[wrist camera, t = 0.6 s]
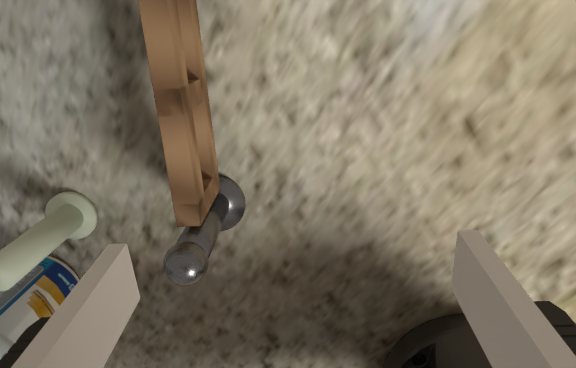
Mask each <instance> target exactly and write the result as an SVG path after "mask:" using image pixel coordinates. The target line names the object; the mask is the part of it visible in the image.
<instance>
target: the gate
mask: <svg viewBox="0 0 576 368" xmlns="http://www.w3.org/2000/svg"><path fill="white" fill-rule="evenodd" d="M138 4H139V10H140V16H141V21H142V27H143V33H144V39H145V44H146V50H147V56H148V62H149V68H150V73H151V79H152V85H153V91H154V97H155V102H156V108H157V114H158V120H159V126H160V131H161V137H162V143H163V149H164V155H165V160H166V166H167V172H168V178H169V183H170V189H171V195H172V201H173V207H174V212H175V218H176V224H177V227H187V226H201V224H202V222H203V220H204V219H205V217H206V215H207V213H208V211H209V209H210V207H211V205H212V203H213V201H214V200H215V198H216V196H217V194H218V192H219V190H220V183H219V175H218V167H217V160H216V152H215V144H214V136H213V129H212V121H211V113H210V105H209V98H208V90H207V82H206V74H205V67H204V59H203V51H202V43H201V36H200V28H199V20H198V12H197V5H196V0H138Z"/></svg>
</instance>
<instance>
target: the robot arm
mask: <svg viewBox="0 0 576 368" xmlns="http://www.w3.org/2000/svg"><path fill="white" fill-rule="evenodd" d="M451 290H452V292H453V293H454V295H455V297H456V299H457V301H458V303H459V305H460V307H461V309H462V311H463V313H464V314H459V315H451V316H445V317H441V318H438V319H434V320H432V321H429V322H427V323H424V324H422V325H420V326H418V327H417V328H415V329H413V330H412V331H410V332H409V333H408V334H406V335H405V336H404V337H403V338H402V339H401V340H400V341H399V342H398V343H397V344H396V345H395V346H394V347H393V349H392V350H391V352H390V353H389V355H388V357H387V359H386V361H385V364H384V368H576V324H575V323H574V322H573V320H572V319H571V318H570V317H569V316H568V315H567V313H566V312H565V311H563V310H562V309H560V308H559V307H557V306H556V305H554V304H553V303H551V302H550V301H535V302H533V300H532V299H531V298H530V297H529V295H528V294H527V293H526V291H525V290H524V289H523V288H522V286H521V285H520V284H519V282H518V281H517V280H516V278H515V277H514V276H513V275H512V273H511V272H510V271H509V269H508V268H507V267H506V266H505V264H504V263H503V262H502V260H501V259H500V258H499V257H498V255H497V254H496V253H495V251H494V250H493V249H492V248H491V246H490V245H489V244H488V242H487V241H486V240H485V239H484V237H483V236H482V235H481V233H480V232H479V231H478V230H463V231H458V233H457V241H456V250H455V258H454V267H453V275H452V283H451ZM139 300H140V294H139V290H138V286H137V282H136V278H135V274H134V270H133V266H132V262H131V258H130V254H129V250H128V246H127V243H122V244H108V245H107V246H106V248H105V249H104V250H103V251H102V253H101V254H100V255H99V256H98V258H97V259H96V260H95V262H94V263H93V264H92V265H91V267H90V268H89V269H88V270H87V272H86V273H85V274H84V276H83V277H82V278H81V279H80V281H79V282H78V283H77V284H76V286H75V287H74V288H73V290H72V291H71V292H70V293H69V295H68V296H67V297H66V298H65V300H64V301H63V302H62V304H61V305H60V306H59V307H58V309H57V310H56V311H55V312H54V314H53V315H52V316H51V317H41V318H40V319H39V320H37V321H36V322H34V323H33V324H32V325H30V326H29V327H28V328H26V330H25V331H24V332H23V333H22V334H21V336H20V337H19V338H18V339H17V340H16V343H14V344H13V345H12V346H11V348H10V349H9V350H8V353H6V354H5V355H4V356H3V357H2V358H1V360H0V368H104V366H105V364H106V362H107V360H108V358H109V356H110V355H111V353H112V351H113V349H114V347H115V345H116V343H117V341H118V340H119V338H120V336H121V334H122V332H123V330H124V328H125V326H126V325H127V323H128V321H129V319H130V317H131V315H132V313H133V312H134V310H135V308H136V306H137V304H138V302H139Z"/></svg>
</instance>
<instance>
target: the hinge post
mask: <svg viewBox="0 0 576 368" xmlns="http://www.w3.org/2000/svg"><path fill="white" fill-rule="evenodd" d="M219 183H220V190H219V192H218V194H217V196H216V198H215V200H214V201H213V203H212V205H211V207H210V209H209V211H208V213H207V215H206V217H205V219H204V220H203V222H202V224H201V226H187V227H186V228H185V229H184V231H183V233H182V234H181V236H180V238H179V239H178V241H177V243H176V244H175V245H174V246H172V247H171V248H170V249H169V250H168V252H167V253H166V255H165V258H164V262H163V266H164V271H165V274H166V276H167V277H168V278H169V279H170V280H171V281H172V282H173V283H175V284H178V285H182V286H188V285H192V284H195V283H197V282H198V281H200V280H201V279H202V278H203V276H204V275H205V273H206V271H207V268H208V258H209V256H210V254H211V251H212V249H213V246H214V244H215V242H216V239H217V237H218V234H219V232H220V231H224V230H227V229H230V228H232V227H234V226H235V225H236V224H237V223H238V222H239V221H240V220H241V218H242V216H243V213H244V210H245V197H244V194H243V192H242V190H241V188H240V187H239V186H238V185H237V184H236V183H235V182H234V181H232V180H231V179H229V178H227V177H224V176H219Z"/></svg>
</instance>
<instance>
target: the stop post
mask: <svg viewBox="0 0 576 368" xmlns="http://www.w3.org/2000/svg"><path fill="white" fill-rule="evenodd" d="M45 216H46V217H45V218H44V219H43V220H41V221H40V222H39V223H37V224H36V225H34V226H33V227H32V228H30V229H29V230H28V231H26V232H25V233H23V234H22V235H21V236H19V237H18V238H16V239H15V240H14V241H12V242H11V243H10V244H8V245H7V246H5V247H4V248H3V249H1V250H0V291H6V290H9V289H10V288H11V287H13V286H14V285H15V284H16V283H17V282H18V281H19V280H21V279H22V278H23V277H24V276H25V275H26V274H27V273H28V272H30V271H31V270H32V269H33V268H34V267H35V266H36V265H38V264H39V263H40V262H41V261H42V260H43V259H44V258H46V257H47V256H48V255H49V254H50V253H51V252H52V251H53V250H55V249H56V248H57V247H58V246H59V245H60V244H61V243H63V242H64V241H65V240H66V239H67V238H68V239H82V238H84V237H86V236H88V235H89V234H90V233H91V232H92V231H93V230H94V229H95V228H96V226H97V223H98V213H97V210H96V208H95V206H94V204H93V203H92V202H91V201H90V200H89V199H88V198H87V197H85V196H84V195H82V194H80V193H77V192H72V191H66V192H61V193H59V194H57V195H56V196H54V197H53V198H51V199H50V200H49V202H48V203H47V205H46V209H45Z"/></svg>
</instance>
